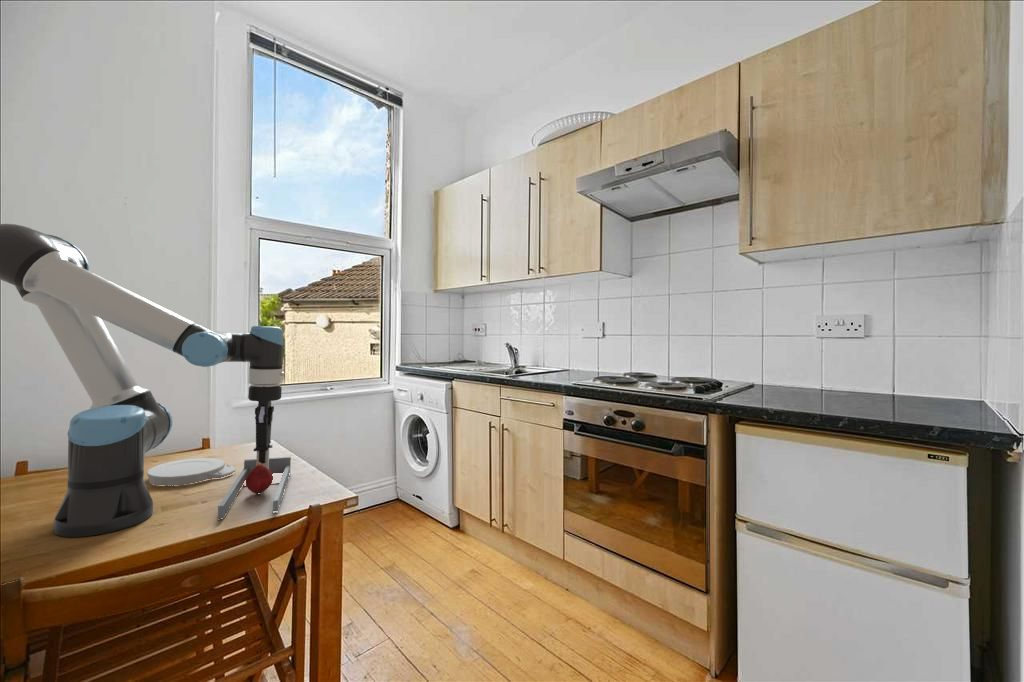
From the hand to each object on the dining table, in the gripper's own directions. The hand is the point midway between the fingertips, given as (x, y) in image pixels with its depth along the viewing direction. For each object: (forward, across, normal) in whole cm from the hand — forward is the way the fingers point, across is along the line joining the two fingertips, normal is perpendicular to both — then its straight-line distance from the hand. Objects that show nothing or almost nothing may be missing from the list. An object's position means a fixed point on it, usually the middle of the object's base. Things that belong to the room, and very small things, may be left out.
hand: (262, 474), depth 113 cm
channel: (+3, -6, 0) cm, 7 cm away
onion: (+4, -6, 0) cm, 7 cm away
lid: (+4, +15, +18) cm, 24 cm away
